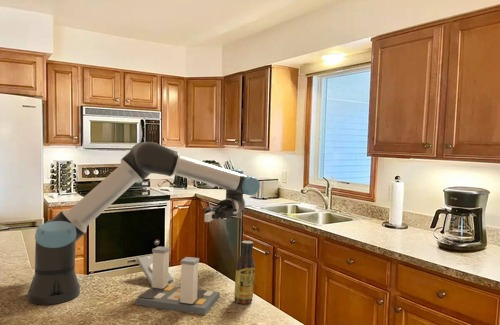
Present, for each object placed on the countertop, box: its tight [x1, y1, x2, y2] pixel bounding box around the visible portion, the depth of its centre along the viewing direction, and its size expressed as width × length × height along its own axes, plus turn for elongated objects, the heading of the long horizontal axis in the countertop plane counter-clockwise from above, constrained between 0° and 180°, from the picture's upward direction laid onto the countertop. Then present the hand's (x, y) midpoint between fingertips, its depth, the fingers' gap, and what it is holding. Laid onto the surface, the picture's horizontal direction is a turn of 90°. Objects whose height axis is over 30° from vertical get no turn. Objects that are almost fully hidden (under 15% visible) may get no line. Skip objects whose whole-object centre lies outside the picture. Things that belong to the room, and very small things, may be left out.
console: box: [135, 284, 221, 316], centre depth 121 cm, size 23×14×2 cm, turn 77°
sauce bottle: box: [233, 240, 256, 305], centre depth 123 cm, size 7×6×20 cm
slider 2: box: [180, 256, 200, 304], centre depth 116 cm, size 4×4×13 cm
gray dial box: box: [136, 254, 174, 287], centre depth 141 cm, size 8×6×14 cm
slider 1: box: [151, 246, 171, 289], centre depth 127 cm, size 4×4×13 cm
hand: (206, 218), depth 131 cm, fingers closed
